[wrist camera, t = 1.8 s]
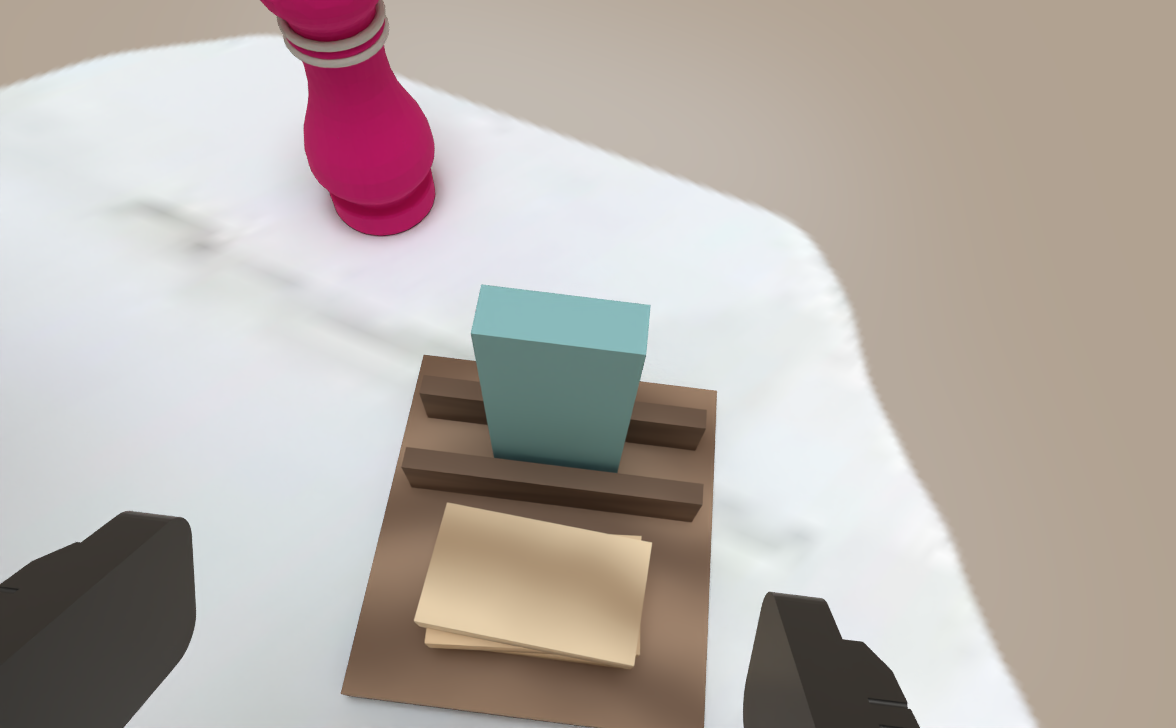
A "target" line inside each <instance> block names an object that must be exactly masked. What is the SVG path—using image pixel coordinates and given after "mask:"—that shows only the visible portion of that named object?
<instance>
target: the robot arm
mask: <svg viewBox="0 0 1176 728" xmlns="http://www.w3.org/2000/svg"><path fill="white" fill-rule="evenodd" d="M195 620H196V602H195V584H194V566H193V548H192V533H191V528H190V525H189V523H188V522H187V520H186V519H184V518H181V517H174V516H166V515H158V514H150V513H142V512H134V511H125V512H122V513H120V514H119V515H117V516H116V517H114V518H113V519H112V520H110V521H109V522H108V523H106V524H105V525H104V526H102V527H101V528H100V529H98V530H97V531H96V532H94V533H93V534H92V535H90V536H89V537H88V538H86V539H85V540H84V541H83V542H81V543H80V542H75V543H73V544H71V545H68V546H66V547H64V548H62V549H59V550H57V551H55V552H52V553H50V554H48V555H45V556H43V557H41V558H38V559H36V560H34V561H32V562H30V563H29V564H28V565H26V566H25V567H23V568H22V569H21V570H19V571H18V572H16V573H15V574H14V575H12V576H11V577H10V578H8V579H7V580H5V581H4V582H3V583H1V584H0V728H124V726H125V725H126V724H127V723H128V722H129V721H130V719H131V718H132V717H133V716H134V715H135V713H136V712H137V711H138V710H139V709H140V707H141V706H142V705H143V704H144V703H145V702H146V700H147V699H148V698H149V697H150V696H151V694H152V693H153V692H154V691H155V690H156V689H157V687H158V686H159V685H160V684H161V683H162V681H163V680H164V679H165V678H166V677H167V676H168V674H169V673H170V672H171V671H172V670H173V668H174V667H175V666H176V665H177V664H178V662H179V661H180V660H181V658H182V657H183V655H184V654H185V652H186V650H187V648H188V645H189V643H190V641H191V638H192V635H193V631H194V627H195ZM743 723H744V728H920V727H919V725H918V723H917V721H916V719H915V717H914V715H913V713H912V711H911V709H908V707H907V700H906V698H905V696H904V694H903V692H902V690H901V688H900V686H899V684H898V682H897V680H896V678H895V676H894V674H893V672H892V670H891V669H890V668H889V667H888V666H887V665H886V664H885V663H884V662H883V661H882V660H881V659H880V658H879V657H878V656H877V655H876V654H875V653H874V652H873V651H872V650H871V649H870V648H869V647H868V646H867V645H866V644H865V643H864V642H860V641H852V640H844V639H842V637H841V634H840V632H839V630H838V627H837V625H836V623H835V620H834V618H833V616H832V613H831V611H830V609H829V606H828V604H827V602H826V601H825V600H824V599H823V598H815V597H807V596H799V595H791V594H783V593H775V592H768V593H767V594H766V595H765V598H764V600H763V603H762V607H761V612H760V617H759V621H758V626H757V631H756V636H755V641H754V645H753V650H752V655H751V660H750V664H749V669H748V674H747V679H746V684H745V691H744V702H743Z"/></svg>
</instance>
